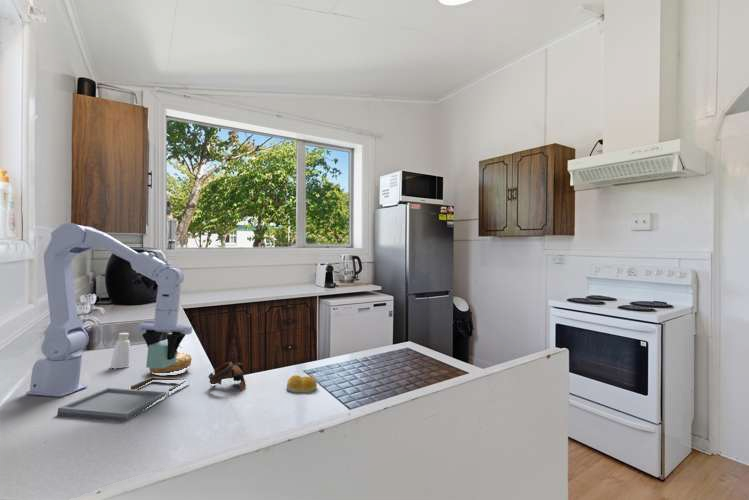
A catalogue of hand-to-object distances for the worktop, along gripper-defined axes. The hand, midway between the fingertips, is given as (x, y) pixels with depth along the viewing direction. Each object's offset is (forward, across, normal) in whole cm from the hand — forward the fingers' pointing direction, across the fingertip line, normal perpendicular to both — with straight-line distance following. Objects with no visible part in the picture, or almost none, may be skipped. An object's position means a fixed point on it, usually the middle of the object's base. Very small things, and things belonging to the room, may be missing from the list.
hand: (162, 358), depth 98 cm
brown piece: (+9, +17, +6) cm, 20 cm away
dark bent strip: (+8, 0, 0) cm, 8 cm away
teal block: (+2, 0, 0) cm, 2 cm away
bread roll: (+9, +38, +10) cm, 40 cm away
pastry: (+9, -7, +15) cm, 19 cm away
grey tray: (+8, -2, -13) cm, 16 cm away
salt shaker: (+9, -24, +16) cm, 30 cm away
